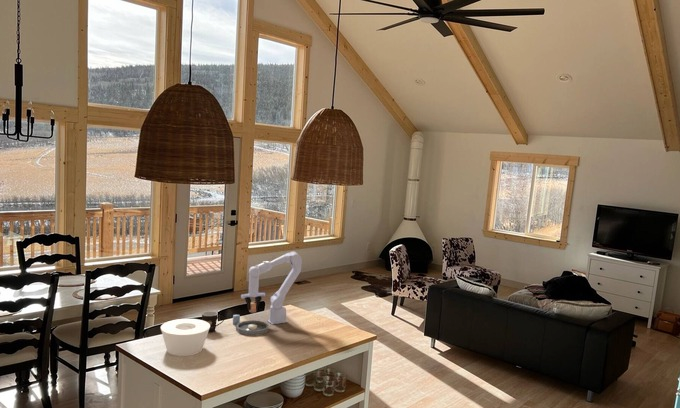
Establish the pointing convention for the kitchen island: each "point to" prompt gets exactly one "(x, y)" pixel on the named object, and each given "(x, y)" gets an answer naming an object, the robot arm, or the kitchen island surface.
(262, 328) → the groove tray
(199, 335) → the bowl
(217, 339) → the kitchen island surface
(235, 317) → the slate bead
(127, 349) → the kitchen island surface
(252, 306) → the terracotta bead
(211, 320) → the coffee mug
